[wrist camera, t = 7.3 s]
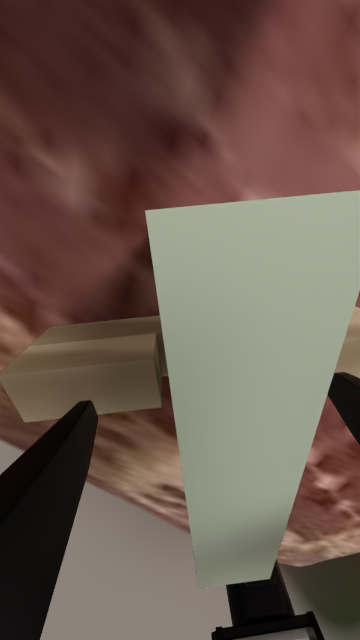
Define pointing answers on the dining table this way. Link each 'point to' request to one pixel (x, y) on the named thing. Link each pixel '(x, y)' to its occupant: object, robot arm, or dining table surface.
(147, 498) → the dining table surface
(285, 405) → the pale green plank
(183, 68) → the dining table surface
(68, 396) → the birch rail
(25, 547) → the robot arm
